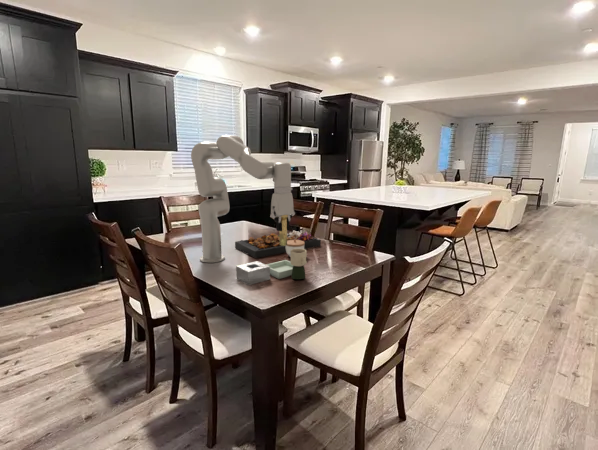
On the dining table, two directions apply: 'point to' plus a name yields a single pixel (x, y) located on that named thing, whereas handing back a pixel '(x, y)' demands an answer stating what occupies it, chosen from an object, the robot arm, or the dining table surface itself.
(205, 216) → the robot arm
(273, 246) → the food platter
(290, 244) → the lidded jar
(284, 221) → the pin
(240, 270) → the white square-hole block
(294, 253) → the character mug
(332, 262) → the dining table surface
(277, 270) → the tray
